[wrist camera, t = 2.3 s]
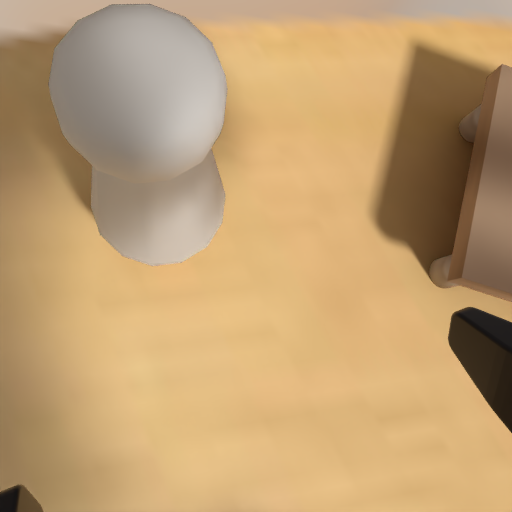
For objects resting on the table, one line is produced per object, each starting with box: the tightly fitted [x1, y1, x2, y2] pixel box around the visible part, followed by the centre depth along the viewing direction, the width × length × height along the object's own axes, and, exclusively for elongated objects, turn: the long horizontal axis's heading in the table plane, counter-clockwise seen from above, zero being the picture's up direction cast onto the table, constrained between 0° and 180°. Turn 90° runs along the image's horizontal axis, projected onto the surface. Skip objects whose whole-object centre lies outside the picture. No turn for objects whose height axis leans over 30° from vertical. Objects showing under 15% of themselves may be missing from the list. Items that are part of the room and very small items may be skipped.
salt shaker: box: [49, 4, 227, 266], centre depth 17 cm, size 6×6×13 cm
